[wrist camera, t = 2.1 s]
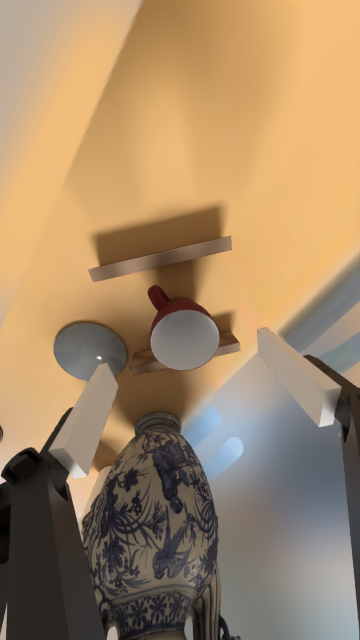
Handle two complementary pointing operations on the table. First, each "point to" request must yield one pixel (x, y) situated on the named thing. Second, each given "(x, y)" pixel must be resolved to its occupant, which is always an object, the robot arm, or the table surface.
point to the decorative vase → (155, 540)
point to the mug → (181, 332)
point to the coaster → (89, 350)
